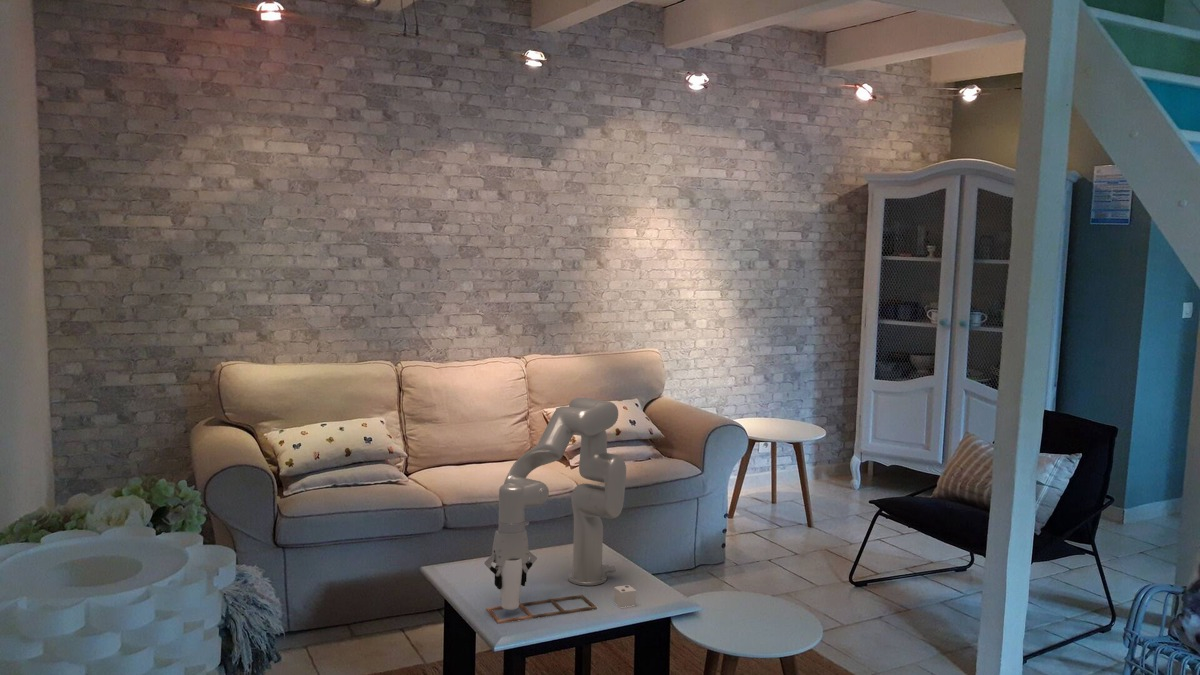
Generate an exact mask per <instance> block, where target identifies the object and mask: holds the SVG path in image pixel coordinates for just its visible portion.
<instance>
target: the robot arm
mask: <svg viewBox="0 0 1200 675" xmlns="http://www.w3.org/2000/svg"><path fill="white" fill-rule="evenodd" d="M618 419H619V409H618V407H617V404H615V403H614V402H612V401H609V400H603V399H595V398H588V397H576V398H572V400H570V402H569V405H568V406H567V405H564V406H560V407H557V408H556V409H555V410H554V412H553V413H552V416H551V418H550V419H549V421H548V424H547V425H546V427H545V429H544V431H543V432H542V434H541V437H540V438H539V440H538V442H537V444H536V445H535V446H533V447H532V448H531V449H529V450H528V451H526V452H525V453H524V454H523V455H521V456H520V457H519V458H518V459H516V460H515V462H514V463H513V464H512V466H511V468H510V469H509V471H508V473H507V475H506V478H505V479H504V481H503V482H504V483H503V484H502V485H500V487H499V488H498V530H497V529H496V530H495V532H494V538H493V543H492V553H491V555H490V556H489V557H488V558H487V559H486V560H485V561H484V563H483V564H484V565H485V567H486V568H488V569H489V570H490V571H491V572H492V573H493V575H494V586H495V587H496V588H497V589H498V590H500V591H501V588H502V576H501V575H500V573H501V571H502V567H503V566H504V564H505V561H506V560H507V561H514V560H519V559H522V580H521V587H525V586H526V583H527V578H528V577H527V576H528V575H527V574H528V572H529V570H530V569H531V567H533V565H534V563H535V562H536V561H537V559H538V557H537V556H536V555H534V553H532V552H531V551H530V550H529V548H530V547H529V539H528V538H529V537H528V532H527V529H526V527H527V526H530V522H529V520H525V516H526V515H525V514H526V513H525V512H526V510H525V509H526V508H530V507H531V508H532V507H533V508H534V507H539V506H542V505H543V504H545V503H546V501H547V500H548V498H549V496H550V495H549V494H550V491H549V488H548V485H547V484H545V483H544V482H543V481H540V480H537V479H536V480H535V479H532V478H527V477H528V476H529V475H530V473H532V472H533V471H534V470H535V469H538V468H539V467H541V466H545V465H548V464H551V463H555V462H557V461H559V460H561V459H562V458H563V456H564V454H565V452H566V450H567V448H568V446H569V444H570V442H571V440H572V438H573V436H580V449H579V450H580V451H579V460H578V462H579V463H578V471H579V472H578V473H579V475H580V477H582V478H583V479H585V480H589V481H594V482H597V483H601V484H602V483H603V484H604V486H602V485H597V484H593V483H581V484H578V485H576V486H575V487H574V488H573V490H572V492H571V498H570V500H571V508H572V512H573V513H572V514H573V548H572V549H573V550H572V551H573V553H572V554H573V555H572V556H573V557H572V558H573V559H572V571H571V572H570V573H568V575H567V579H568V582H570V583H571V584H575V585H579V586H586V587H587V586H598V585H601V584H603V583H605V582H606V581H607V580H608V578H607V574H608V573H615V572H616V570H617V567H616V566H615V565H611V566H610V565H609V564H603V547H604V545H603V543H604V541H603V540H604V526H603V521H602V518H605V519H614V518H618V517H619V515H621V513H622V511H623V508H624V502H625V493H626V492H625V491H626V480H627V465H626V462H625V460H624V459H623V458H622V456H620V455H618V454H614V453H609V452H608V449H607V448H608V434H607V431H606V430H609V429H611V428H612V427H613V426H615V424H616V423H617V421H618ZM493 563H494V564H496V565H495V566H493V565H492V564H493Z"/></svg>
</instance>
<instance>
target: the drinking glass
mask: <svg viewBox="0 0 1200 675" xmlns="http://www.w3.org/2000/svg"><path fill="white" fill-rule="evenodd" d="M500 575H501V576H502V588H501V589H500V606H502V608H503V609H502V610H507V611H510V610H511V611H512V610H517V609H518V608H520V607H519V603H521V602H520V601H521V600H520V598H521V597H520V596H521V590H522V589H521V588H522V585H521V580H522V559H519V560H514V561H507V560H506V561H505V564H504V566H503V567H502V571H501V573H500Z"/></svg>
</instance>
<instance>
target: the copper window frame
mask: <svg viewBox="0 0 1200 675" xmlns="http://www.w3.org/2000/svg"><path fill="white" fill-rule="evenodd" d="M577 598H578V599H581V598H582V599H583V600H584V601H583V600H582V599H581V600H582V601H583V602H584V603H585V604H587V606H586V607H581V608H572V609H566V610H565V609H564V608H563V607H562V606H560V605H559V603H558V602H561V601H569V600H577ZM549 603H551V604H552V605H553V607H555V608H556V610H558V611H552V612H545V613H539V614H533V613H531V611H530V610H529V609H528V608H527V607H528V606H533V605H542V604H549ZM526 606H527V607H526ZM590 606H591V607H590ZM518 608H520V609H521V610H522V611H523V612H524V613H525V614H526V615H525V616H524V615H523V616H518V617H511V618H510V617H509V618H504V619H500V618H499V617H498V616H497V614H496V613H495V612H494V611H498V610H504V609H503V608H502V606H501V605H499V606H491V607H486V609H485V611H486V612H487V613H488V614H489V615H490V616H491V618H492V619H493V618H494V619H493V620H494V621H495V622H496V623H497V624H498V623H499V624H504V622H506V623H511V622H512V621H513V622H519V621H518V620H520V621H525V620H524V619H527V620H532V618H533V619H538V617H540V618H546V616H547V617H552V616H558V615H566V614H567V615H568V614H572V613H578V612H580V611H581V612H586V610H587V611H593V610H592V609H594V610H597V609H598V607H597V606H596V605H595V604H594V603H593V602H592V601H590V600H589V598H587V597H586V596H585V595H583V594H579V595H578V594H577V595H571V596H563V597H558V598H557V597H556V598H550V599H549V598H548V599H544V600H543V599H542V600H535V601H527V602H519V607H518ZM492 610H493V611H492Z"/></svg>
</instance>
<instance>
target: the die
mask: <svg viewBox="0 0 1200 675" xmlns="http://www.w3.org/2000/svg"><path fill="white" fill-rule="evenodd" d="M614 602H615V603H616V604H617V605H618V606H620V607H625V606H626V607H627V606H632V605H636V606H637V603H636V602H637V590H636V589H635V588H634V587H632V586H631V585H630V584H627V585H619V586H614V588H613V603H614ZM615 603H614V604H615ZM616 604H615V605H616ZM617 605H616V606H617ZM618 606H617V607H618ZM620 607H619V608H620ZM627 608H628V607H627Z"/></svg>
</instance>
